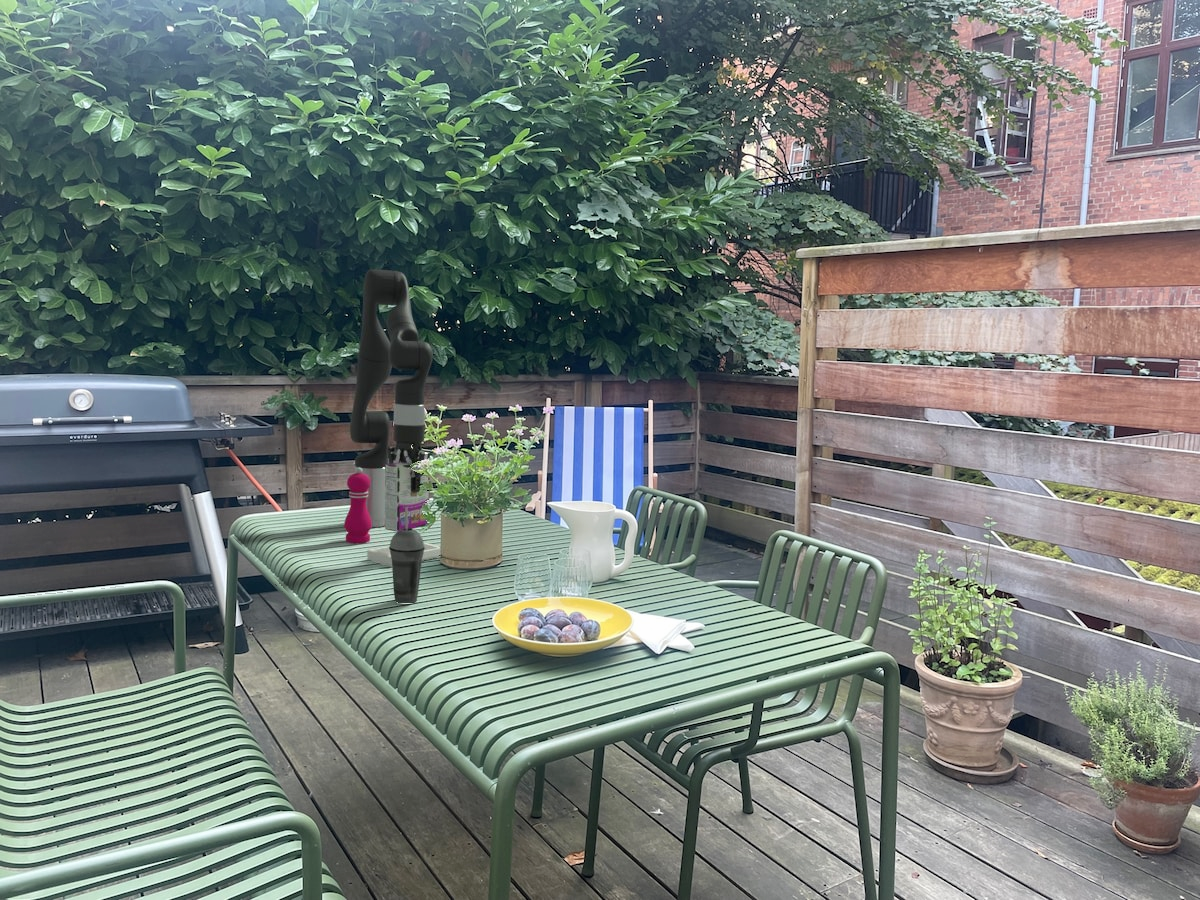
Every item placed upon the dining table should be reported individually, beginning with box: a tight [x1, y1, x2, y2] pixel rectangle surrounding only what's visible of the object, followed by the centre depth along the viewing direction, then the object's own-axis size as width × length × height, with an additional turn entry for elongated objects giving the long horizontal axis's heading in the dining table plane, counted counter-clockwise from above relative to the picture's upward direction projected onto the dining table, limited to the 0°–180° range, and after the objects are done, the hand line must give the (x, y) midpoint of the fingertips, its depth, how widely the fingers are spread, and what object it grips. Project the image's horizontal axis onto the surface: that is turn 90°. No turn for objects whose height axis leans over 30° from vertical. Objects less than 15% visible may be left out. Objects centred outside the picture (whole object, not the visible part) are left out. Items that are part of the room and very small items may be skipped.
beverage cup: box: [389, 507, 425, 604], centre depth 184 cm, size 7×7×20 cm
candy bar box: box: [384, 462, 431, 533], centre depth 219 cm, size 11×5×16 cm, turn 148°
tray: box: [366, 542, 441, 568], centre depth 221 cm, size 10×16×2 cm, turn 141°
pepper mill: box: [343, 467, 373, 544], centre depth 236 cm, size 7×7×20 cm
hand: (407, 490), depth 219 cm, fingers closed on candy bar box, 5 cm apart
